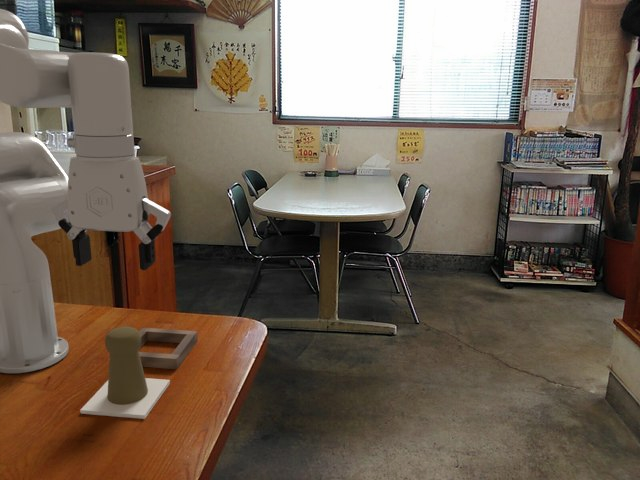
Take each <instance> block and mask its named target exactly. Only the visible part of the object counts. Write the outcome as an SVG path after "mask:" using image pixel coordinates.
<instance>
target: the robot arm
mask: <svg viewBox="0 0 640 480" xmlns="http://www.w3.org/2000/svg"><path fill="white" fill-rule="evenodd" d="M29 41H30V40H29V34H28V30H27V28H26V26H25V24H24V22H22V19H20V17H18V16H17V15H15V14H14V13H13V12H11V11H10V10H6V9H3V8H0V103H3V104H5V105H8V106H11V107H14V108H21V109H44V108H45V109H49V108H51V109H52V108H54V109H55V108H62V109H65V108H66V109H67V108H71V114H72V115H71V116H72V125H73V137H68V138H67V139H66V146H67V147H68V148H70V149H72V148H73V149H74V154H76V156H73V157H70V160H69V166H68V174H67V172H66V171H65V170H64V168H63V167H62V165H61V164H60V163H59V161H58V160H57V159H56V157H55V156H54V155H53V153H52V152H51V151H50V150H49V148H48V147H47V145H46V144H45V143H44V142H43V141H41V140H40V139H39V138H38V137H36V136H35V135H32V134H31V133H27V132H23V131H22V132H21V131H19V132H18V131H15V132H13V131H12V132H9V131H8V132H0V373H2V374H3V373H4V374H25V373H31V372H35V371H38V370H42V369H46V368H47V367H51V366H53V365H55V364H56V363H58V362H60V361H61V360H62V359H64V358H65V357H66V356H67V354H68V352H69V351H70V350H69V348H70V347H69V342H68V341H67V339H65V338H63V337H61V336H58V327H57V320H56V319H57V318H56V313H55V305H54V295H53V288H52V287H53V286H52V281H51V272H50V266H49V261H48V258H47V256H46V254H45V252H44V251H43V250H42V249H41V248H40V247H38V246H37V245H36V244H35V242H33V240H32V237H33V236H34V237H35V236H37V235H41V234H43V233H49V232H53V231H56V230H61V229H62V231H64V233H66V235H67V236H66V237H67V238H68V239H69V240H71V245H72V252H73V253H72V254H73V257H74V259H75V266H77V267H82V266H84V265H85V264H86V263H88V262H90V261H91V260H92V248H91V239H90V236H89V234H87V233H86V232H87V231H102V232H103V231H104V232H119V233H122V232H124V233H125V232H126V233H128V232H134V234H135V235H136V237H138V238H139V240H141V241H140V243H139V244H138V256H139V269H140V270H141V271H147V270H148V269H149V268H151V267H152V266H153V265H154V263H155V261H156V246H155V243H156V242H155V241H156V239H157V238H158V237H159V236H160V234H161V233H162V232H164V230H166V227H167V225H168V223H169V221H170V219H171V217H172V213H171V211H170V210H168V209H166V208H164V207H163V206H161V205H159V204H157V203H155V202H154V201H152V200H150V199H149V196H148V195H149V194H148V188H147V183H146V178H145V174H144V169H143V166H142V163H141V160H140V157H138V156H136V153H135V152H136V151H135V141H134V139H135V138H134V126H133V125H134V124H133V112H132V111H133V110H132V98H131V97H132V95H131V83H130V82H131V81H130V68H129V63H128V61H127V60H126V59H125V58H124V56H122V55H120V54H115V53H109V52H108V53H107V52H93V51H92V52H89V51H87V52H86V51H85V52H83V51H82V52H81V51H80V52H70V51H68V52H67V51H58V50H51V49H50V50H48V49H47V50H46V49H34V48H29V43H30V42H29ZM150 214H151V215H153V216H154V217H155V218H156V221H155V224H154V226H153V227H152V225H151V224H150V223H149V220H150Z"/></svg>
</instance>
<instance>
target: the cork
mask: <svg viewBox="0 0 640 480" xmlns="http://www.w3.org/2000/svg"><path fill="white" fill-rule="evenodd" d="M139 331H140V330H138V329H137V328H135V327H134V326H133V327H131V326H118V327H116V328H113V329H112V330H109V331H108V332H107V334H106V336H105V339H104V346H105V348H106V350H107V352H108V353H109V360H108V362H109V364H108V379H107V381H108V396H107V398H108V400H109V401H110V402H111V403H113V404H117V405H126V404H132V403H135V402H138V401H140V400H142V399H143V398H144V397H145V396H146V395H147V393H148V388H147V384H146V380H145V378H146V377H145V372H144V368H143V367H142V363H141V359H140V354H139V352H140V351H139V350H140V349H139V350H138V348H139V347H140V344H141V335H140V333H139Z"/></svg>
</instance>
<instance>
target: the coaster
mask: <svg viewBox="0 0 640 480" xmlns="http://www.w3.org/2000/svg"><path fill="white" fill-rule="evenodd" d="M145 380H146V384H147V388H148V393H147V395H146V396H145V397H144V398H143V399H142V400H140V401H138V402H135V403H132V404H126V405H117V404H113V403H111V402H110V401H109V400H108V398H107V396H108V380H107V381H105V382H104V384H103V385H102V386H101V387H100V388H99V389H98V390H97V391H96V392H95V394H93V396H92V397H90V399H89V400H88V401H87V402H86V403H85V404H84V405H83V406H82V408H80V411H79V412H80V414H82V415H83V414H84V415H93V416H94V415H95V416H108V417H117V418H131V419H140V420H141V419H142V420H145V419H146V418H147V416H148V415H149V414H150V412H151V411H152V410H153V409H154V407H155V405H156V404H157V403H158V401H159V399H160V398H161V397H162V396H163V394H164V392H166V390H167V389H168V387H169V385H171V380H170V379H165V378H164V379H162V378H152V377H151V378H149V377H148V378H147V377H145Z"/></svg>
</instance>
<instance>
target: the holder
mask: <svg viewBox="0 0 640 480" xmlns="http://www.w3.org/2000/svg"><path fill="white" fill-rule="evenodd" d="M138 331H139V333H140V335H141V344H140V347H139V348H138V350H141V349H142V347H143V346H144V345H145V344H146V343H147V342H156V343H157V342H159V343H160V342H161V343H170V344H171V343H173V344H178V345H177V347H176V348H175V349H174V350H173V352H172V353H163V352H162V353H160V352H159V353H158V352H145V351H139V354H140V359H141V363H142V367H145V368H154V369H155V368H156V369H157V368H158V369H168V370H170V369H171V370H178V369H179V367H180V366H181V365H182V363H183V362H184V360H185V359H186V358H187V356H188V355H189V353H190V352H191V351H192V350H193V347H194V346H195V345H196V344H197V342H198V339H199V337H198V331H196V330H182V329H171V328H169V329H167V328H155V327H152V328H151V327H142V328H141V329H140V330H138Z"/></svg>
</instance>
